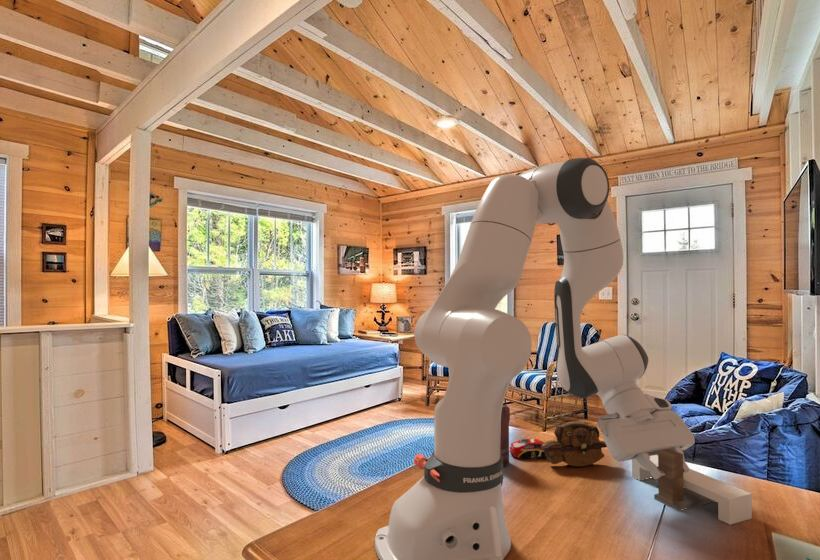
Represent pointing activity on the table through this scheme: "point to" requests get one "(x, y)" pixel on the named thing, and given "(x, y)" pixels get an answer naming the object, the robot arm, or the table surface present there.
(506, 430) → the can
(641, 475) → the low shelf
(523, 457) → the race car
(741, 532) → the table surface
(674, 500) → the brown l-shaped block
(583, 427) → the wooden carving
